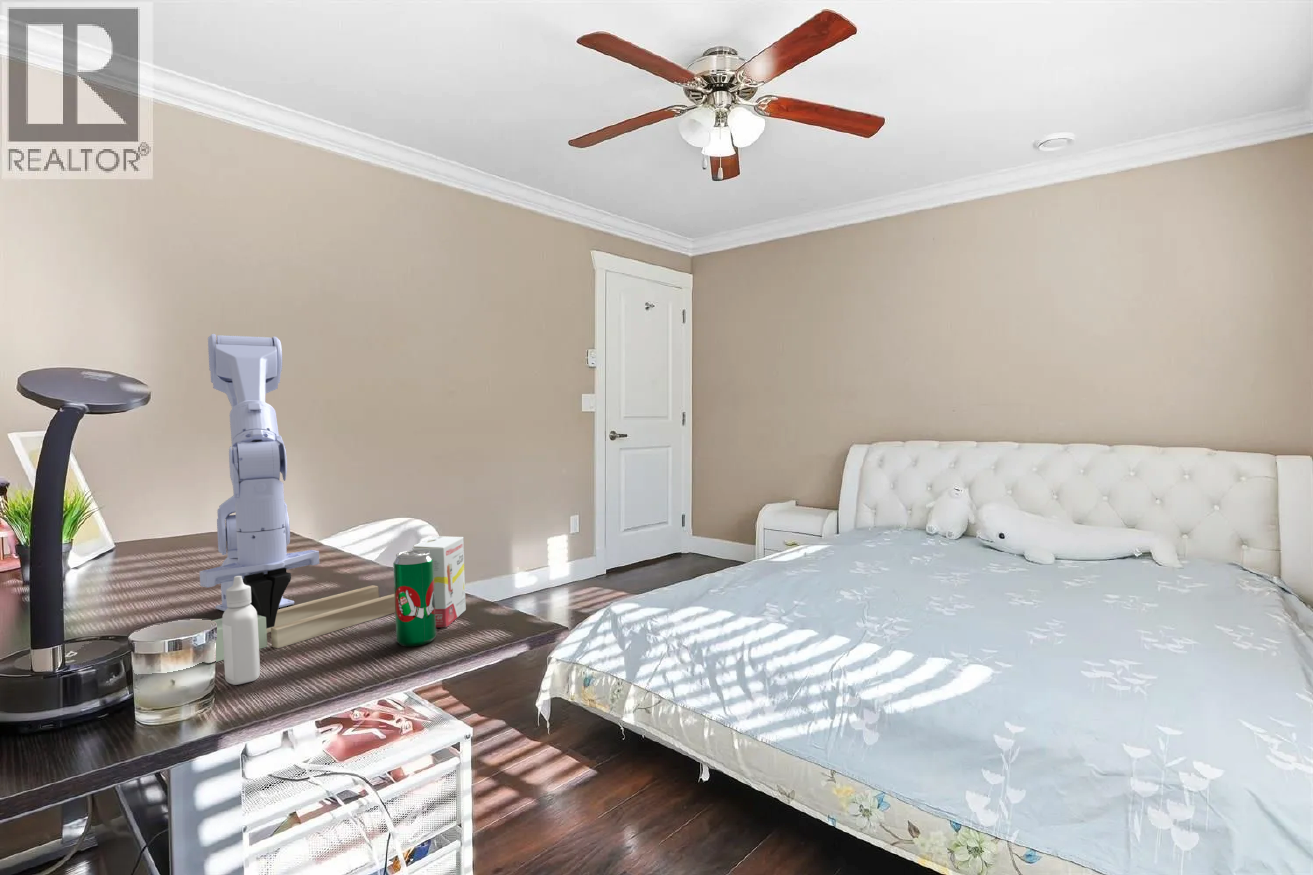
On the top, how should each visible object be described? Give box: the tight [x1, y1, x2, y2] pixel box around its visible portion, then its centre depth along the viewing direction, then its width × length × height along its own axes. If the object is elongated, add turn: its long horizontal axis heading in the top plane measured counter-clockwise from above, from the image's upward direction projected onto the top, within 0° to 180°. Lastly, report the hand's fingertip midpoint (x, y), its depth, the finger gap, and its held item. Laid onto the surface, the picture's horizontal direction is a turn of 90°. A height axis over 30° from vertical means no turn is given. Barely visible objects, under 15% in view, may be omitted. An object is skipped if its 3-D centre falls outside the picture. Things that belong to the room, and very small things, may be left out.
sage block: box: [212, 615, 268, 663], centre depth 84 cm, size 5×7×4 cm
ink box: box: [411, 535, 467, 628], centre depth 95 cm, size 9×5×12 cm, turn 177°
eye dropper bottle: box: [221, 576, 261, 686], centre depth 75 cm, size 4×6×12 cm
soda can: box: [392, 549, 437, 648], centre depth 86 cm, size 5×5×12 cm
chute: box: [267, 584, 395, 649], centre depth 95 cm, size 10×20×2 cm, turn 147°
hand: (266, 626), depth 88 cm, fingers closed
